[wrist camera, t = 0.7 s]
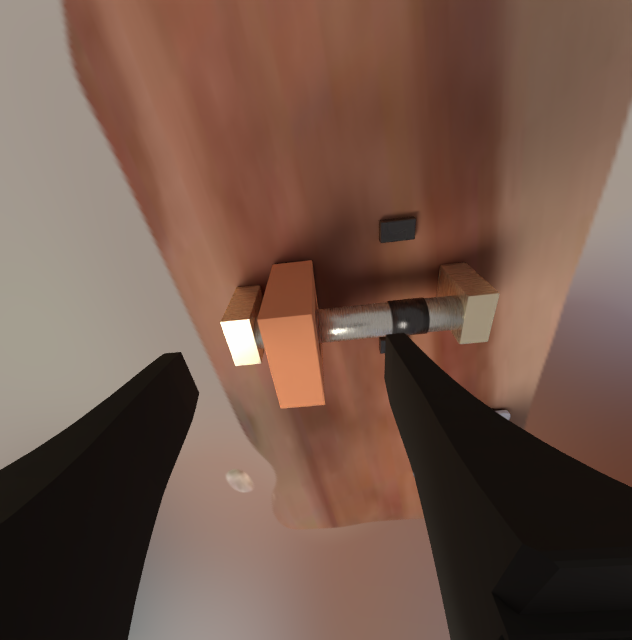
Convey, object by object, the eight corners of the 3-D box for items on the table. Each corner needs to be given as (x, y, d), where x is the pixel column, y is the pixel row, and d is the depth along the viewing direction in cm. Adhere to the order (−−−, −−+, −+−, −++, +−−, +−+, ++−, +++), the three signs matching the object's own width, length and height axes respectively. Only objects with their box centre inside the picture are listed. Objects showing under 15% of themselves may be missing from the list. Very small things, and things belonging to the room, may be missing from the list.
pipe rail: (474, 209, 17) (515, 231, 14) (452, 342, 23) (477, 382, 19) (222, 239, 18) (200, 267, 15) (257, 361, 24) (248, 403, 20)
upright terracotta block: (311, 260, 19) (311, 314, 14) (321, 336, 22) (324, 404, 17) (272, 264, 19) (257, 319, 14) (288, 339, 22) (280, 408, 17)
